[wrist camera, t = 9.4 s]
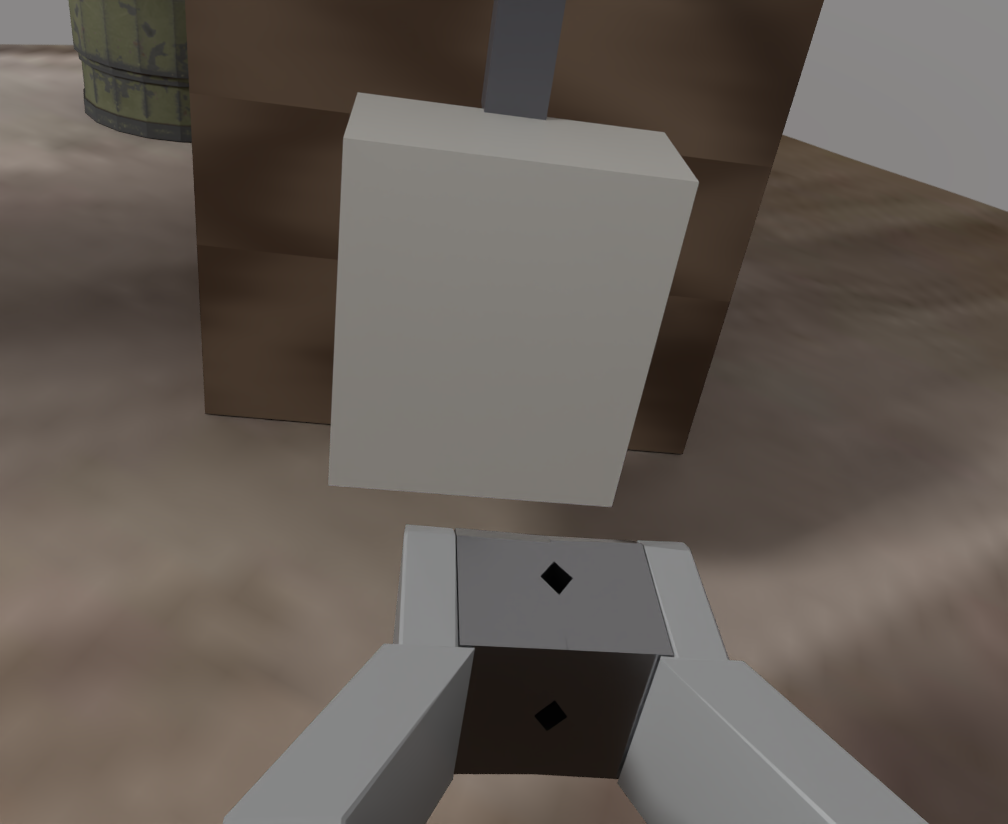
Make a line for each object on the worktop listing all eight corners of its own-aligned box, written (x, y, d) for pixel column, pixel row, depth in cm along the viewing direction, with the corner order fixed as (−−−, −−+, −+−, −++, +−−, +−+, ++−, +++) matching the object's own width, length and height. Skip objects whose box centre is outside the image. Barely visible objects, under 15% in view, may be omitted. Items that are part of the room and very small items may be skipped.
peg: (328, 485, 15) (361, -284, 10) (382, 175, 29) (410, -226, 23) (611, 507, 16) (802, -204, 10) (536, 193, 29) (600, -192, 23)
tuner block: (205, 413, 22) (175, -192, 15) (281, 225, 32) (283, -188, 25) (682, 454, 23) (848, -80, 16) (611, 262, 33) (696, -119, 26)
